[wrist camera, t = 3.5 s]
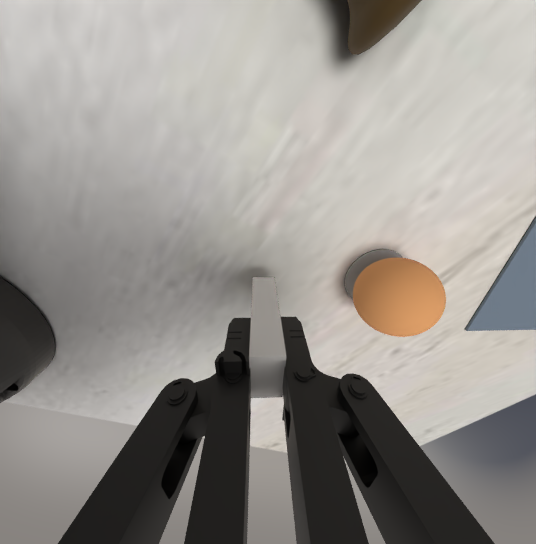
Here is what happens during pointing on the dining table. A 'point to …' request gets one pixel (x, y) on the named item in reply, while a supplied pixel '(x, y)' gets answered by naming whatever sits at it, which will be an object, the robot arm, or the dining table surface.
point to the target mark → (512, 292)
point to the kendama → (374, 21)
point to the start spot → (363, 263)
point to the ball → (399, 297)
